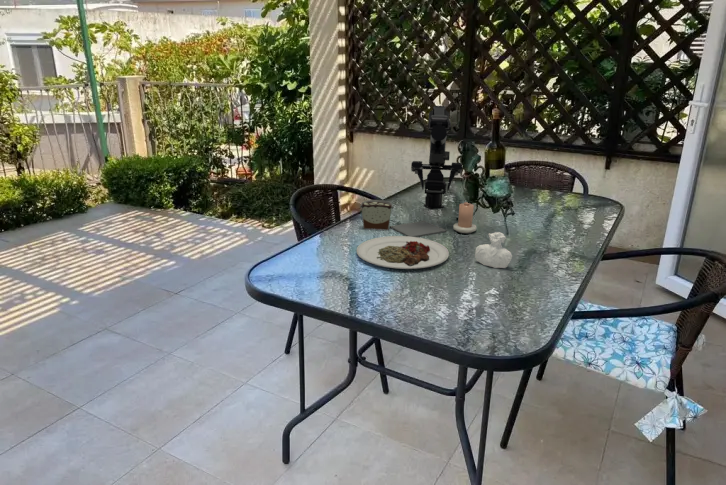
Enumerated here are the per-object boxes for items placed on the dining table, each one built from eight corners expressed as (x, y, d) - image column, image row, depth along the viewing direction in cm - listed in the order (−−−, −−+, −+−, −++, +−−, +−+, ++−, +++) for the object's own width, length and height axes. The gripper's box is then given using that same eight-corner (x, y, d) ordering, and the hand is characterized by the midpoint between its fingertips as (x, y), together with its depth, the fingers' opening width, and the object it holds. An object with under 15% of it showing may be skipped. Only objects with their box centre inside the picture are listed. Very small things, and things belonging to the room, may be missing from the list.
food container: (393, 225, 204) (394, 200, 201) (392, 230, 198) (393, 204, 195) (361, 224, 205) (361, 198, 202) (359, 228, 199) (360, 203, 196)
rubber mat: (424, 222, 208) (424, 220, 208) (446, 231, 197) (446, 230, 197) (389, 227, 201) (389, 226, 201) (410, 238, 190) (410, 236, 189)
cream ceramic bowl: (466, 226, 204) (466, 221, 203) (480, 232, 197) (481, 227, 196) (448, 229, 200) (448, 224, 199) (462, 235, 193) (463, 230, 193)
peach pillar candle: (465, 222, 201) (467, 200, 198) (474, 226, 197) (476, 203, 194) (455, 224, 199) (456, 202, 196) (463, 228, 195) (465, 205, 192)
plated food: (341, 264, 165) (341, 254, 164) (375, 236, 192) (375, 227, 191) (435, 279, 155) (436, 269, 154) (457, 247, 181) (458, 238, 180)
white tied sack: (510, 275, 164) (522, 242, 166) (504, 266, 158) (516, 233, 160) (475, 266, 171) (487, 234, 173) (467, 257, 165) (480, 225, 167)
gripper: (412, 141, 192) (409, 184, 190) (464, 143, 189) (462, 186, 188) (412, 150, 203) (410, 190, 201) (462, 152, 200) (460, 192, 199)
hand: (435, 189), depth 197 cm, fingers open, 9 cm apart
